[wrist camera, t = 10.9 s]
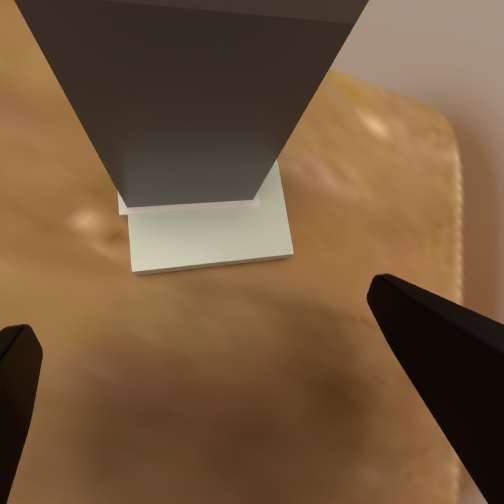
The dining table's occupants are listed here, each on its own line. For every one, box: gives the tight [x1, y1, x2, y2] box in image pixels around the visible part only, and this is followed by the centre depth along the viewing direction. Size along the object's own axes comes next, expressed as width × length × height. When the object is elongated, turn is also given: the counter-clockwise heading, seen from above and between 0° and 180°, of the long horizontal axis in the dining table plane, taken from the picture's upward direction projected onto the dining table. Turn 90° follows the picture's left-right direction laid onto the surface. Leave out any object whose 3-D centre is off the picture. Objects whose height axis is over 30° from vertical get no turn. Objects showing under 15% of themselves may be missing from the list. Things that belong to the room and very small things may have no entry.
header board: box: [118, 159, 294, 276], centre depth 17 cm, size 11×9×4 cm
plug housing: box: [14, 0, 369, 208], centre depth 11 cm, size 4×7×12 cm, turn 99°
